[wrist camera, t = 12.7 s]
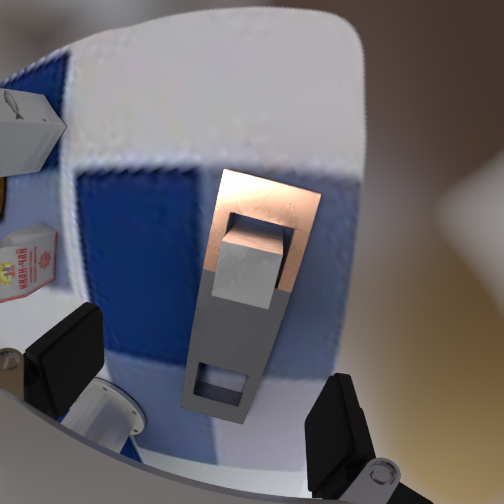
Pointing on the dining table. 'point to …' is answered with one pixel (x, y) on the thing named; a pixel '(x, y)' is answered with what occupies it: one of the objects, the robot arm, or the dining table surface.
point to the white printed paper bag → (26, 261)
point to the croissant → (1, 192)
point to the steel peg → (249, 263)
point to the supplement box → (26, 131)
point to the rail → (239, 314)
